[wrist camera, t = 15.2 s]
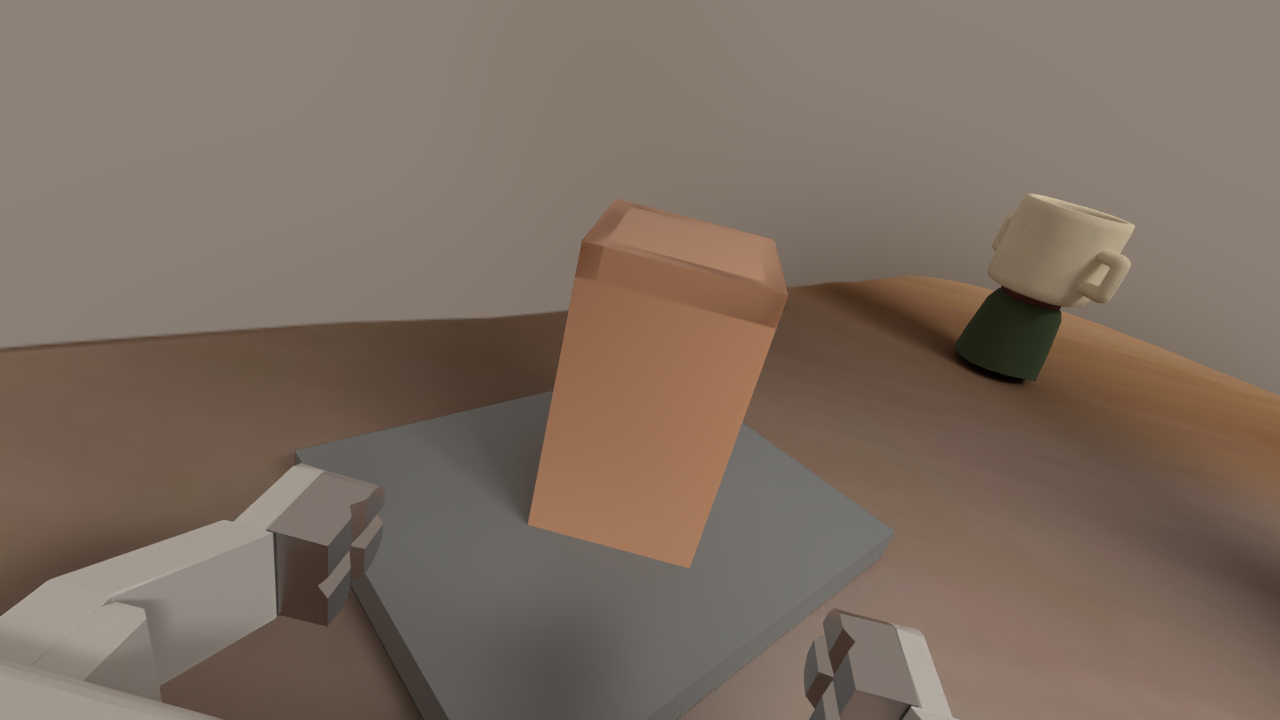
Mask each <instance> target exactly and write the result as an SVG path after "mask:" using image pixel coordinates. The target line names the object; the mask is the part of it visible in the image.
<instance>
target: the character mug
mask: <svg viewBox="0 0 1280 720" xmlns="http://www.w3.org/2000/svg"><path fill="white" fill-rule="evenodd" d="M1134 228H1135V226H1134V225H1133V224H1131V223H1129V222H1127V221H1125V220H1123V219H1120V218H1117V217H1115V216H1112V215H1109V214H1106V213H1103V212H1099V211H1096V210H1093V209H1090V208H1087V207H1083V206H1080V205H1076V204H1072V203H1068V202H1065V201H1061V200H1057V199H1054V198H1050V197H1046V196H1041V195H1036V194H1025V196H1024V198H1023V199H1022V201H1021V203H1020V205H1019V207H1018V209H1017V211H1016V212H1015V213H1010V214H1009V215H1008V216H1007V217H1006V218H1005V220H1004V222H1003V224H1002V226H1001V228H1000V230H999V231H998V234H997V236H996V237H995V240H994V242H993V245H992V248H993V249H994V250H995V251H996V252H995V254H994V256H993V258H992V260H991V262H990V264H989V268H988V275H989V276H990V277H991V278H992V279H993V280H995V281H996V282H997V283H999V284H1000V285H1002V286H1001V288H999V289H997V290H996V291H994V292H993V293H992V294H990V295H989V296H988V297H987V298H986V300H985V301H984V303H983V304H982V305H981V307H980V308H979V310H978V311H977V312H976V314H975V315H974V317H973V318H972V319H971V321H970V322H969V323H968V325H967V326H966V328H965V329H964V331H963V333H962V334H961V336H960V337H959V339H958V340H957V342H956V343H955V347H956V350H957V352H958V354H960V355H961V356H962V357H964V358H965V359H966V360H968V361H969V362H971V363H973V364H976V365H978V366H980V367H983V368H985V369H987V370H991V371H994V372H998V373H1001V376H1002V377H1003V378H1008V377H1009V376H1013V377H1017V378H1022V379H1026V380H1031V381H1036V379H1037V377H1038V374H1039V372H1040V370H1041V368H1042V366H1043V364H1044V362H1045V360H1046V358H1047V356H1048V353H1049V351H1050V348H1051V346H1052V343H1053V341H1054V338H1055V336H1056V333H1057V331H1058V328H1059V326H1060V323H1061V311H1060V310H1059V309H1060V308H1061V306H1062V307H1082V306H1083V305H1085V304H1086V303H1088V302H1089V301H1090V300H1093V301H1095V302H1097V303H1106V302H1107V301H1108V300H1109V299H1111V298H1112V297H1113V295H1114V294H1115V292H1116V290H1117V289H1118V287H1119V285H1120V284H1121V282H1122V281H1123V279H1124V277H1125V276H1126V274H1127V273H1128V271H1129V269H1130V265H1131V262H1130V260H1128V259H1127V257H1126V256H1123V255H1121V254H1120V253H1121V251H1122V249H1123V247H1124V246H1125V244H1126V242H1127V241H1128V239H1129V237H1130V236H1131V234H1132V232H1133V229H1134Z"/></svg>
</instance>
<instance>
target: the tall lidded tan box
mask: <svg viewBox="0 0 1280 720" xmlns="http://www.w3.org/2000/svg"><path fill="white" fill-rule="evenodd" d="M787 298H788V291H787V287H786V284H785V279H784V276H783V272H782V268H781V264H780V260H779V256H778V252H777V249H776V245H775V241H774V240H773V239H769V238H765V237H762V236H758V235H754V234H750V233H746V232H742V231H739V230H735V229H731V228H727V227H723V226H720V225H716V224H712V223H708V222H704V221H701V220H697V219H693V218H689V217H685V216H681V215H678V214H674V213H670V212H666V211H662V210H659V209H655V208H651V207H647V206H643V205H639V204H635V203H631V202H628V201H624V200H620V199H615V200H614V202H613V203H612V204H611V206H610V207H609V208H608V209H607V210H606V212H605V213H604V214H603V215H602V217H601V218H600V219H599V220H598V222H597V223H596V224H595V225H594V227H593V228H592V229H591V230H590V232H589V233H588V234H587V235H586V236H585V238H584V239H583V240H582V244H581V249H580V254H579V260H578V265H577V270H576V275H575V280H574V286H573V291H572V296H571V301H570V307H569V312H568V317H567V322H566V327H565V333H564V338H563V343H562V348H561V354H560V359H559V364H558V369H557V374H556V380H555V385H554V390H553V395H552V400H551V406H550V411H549V416H548V421H547V427H546V432H545V437H544V442H543V447H542V453H541V458H540V463H539V468H538V474H537V479H536V484H535V489H534V494H533V500H532V505H531V510H530V515H529V521H528V525H530V526H534V527H537V528H541V529H545V530H549V531H552V532H556V533H560V534H564V535H567V536H571V537H575V538H578V539H582V540H586V541H590V542H593V543H597V544H601V545H604V546H608V547H612V548H616V549H619V550H623V551H627V552H630V553H634V554H638V555H642V556H645V557H649V558H653V559H656V560H660V561H664V562H668V563H671V564H675V565H679V566H682V567H686V568H690V566H691V563H692V560H693V557H694V555H695V552H696V549H697V546H698V544H699V541H700V538H701V535H702V533H703V530H704V527H705V524H706V522H707V519H708V516H709V513H710V511H711V508H712V505H713V502H714V499H715V497H716V494H717V491H718V488H719V486H720V483H721V480H722V477H723V475H724V472H725V469H726V466H727V464H728V461H729V458H730V455H731V453H732V450H733V447H734V444H735V441H736V439H737V436H738V433H739V430H740V428H741V425H742V422H743V419H744V417H745V414H746V411H747V408H748V406H749V403H750V400H751V397H752V395H753V392H754V389H755V386H756V384H757V381H758V378H759V375H760V372H761V370H762V367H763V364H764V361H765V359H766V356H767V353H768V350H769V348H770V345H771V342H772V339H773V337H774V334H775V331H776V328H777V326H778V323H779V320H780V317H781V315H782V312H783V309H784V306H785V303H786V301H787Z"/></svg>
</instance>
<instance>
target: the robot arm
mask: <svg viewBox="0 0 1280 720" xmlns="http://www.w3.org/2000/svg"><path fill="white" fill-rule="evenodd" d="M384 504H385V489H383V488H382V487H381V486H378V485H375V484H372V483H368V482H365V481H362V480H358V479H355V478H351V477H348V476H345V475H341V474H338V473H335V472H331V471H325V470H322V469H319V468H315V467H312V466H309V465H306V464H302V463H301V464H298V465H295V466H293V467H291V468H290V469H289V470H288V471H287V472H286V473H285V474H284V475H283V476H281V477H280V478H279V479H278V480H277V481H276V482H275V483H274V484H273V485H272V486H271V487H270V488H269V489H267V490H266V491H265V492H264V493H263V494H262V495H261V496H260V497H259V498H258V499H257V500H256V501H254V502H253V503H252V504H251V505H250V506H249V507H248V508H247V509H246V510H245V511H244V512H243V513H242V514H240V515H239V516H238V517H237V518H236V519H235V520H234V521H233V522H231V521H227V520H222V521H219V522H216V523H213V524H210V525H207V526H204V527H201V528H198V529H195V530H192V531H190V532H187V533H184V534H181V535H178V536H175V537H172V538H169V539H166V540H163V541H160V542H158V543H155V544H152V545H149V546H146V547H143V548H140V549H137V550H134V551H131V552H128V553H125V554H123V555H120V556H117V557H114V558H111V559H108V560H105V561H102V562H99V563H96V564H93V565H90V566H88V567H85V568H82V569H79V570H76V571H73V572H70V573H67V574H64V575H61V576H58V577H55V578H53V579H50V580H48V581H46V582H45V583H44V584H42V585H41V586H40V587H39V588H37V589H36V590H35V591H33V592H32V593H31V594H29V595H28V596H27V597H25V598H24V599H23V600H21V601H20V602H19V603H18V604H16V605H15V606H14V607H12V608H11V609H10V610H8V611H7V612H6V613H4V614H3V615H2V616H0V720H224V719H221V718H217V717H213V716H210V715H206V714H203V713H199V712H195V711H192V710H188V709H184V708H181V707H177V706H173V705H170V704H166V703H162V698H161V693H160V688H159V686H161V685H163V684H164V683H166V682H168V681H169V680H171V679H173V678H175V677H176V676H178V675H180V674H181V673H183V672H185V671H187V670H188V669H190V668H192V667H193V666H195V665H197V664H198V663H200V662H202V661H204V660H205V659H207V658H209V657H210V656H212V655H214V654H216V653H217V652H219V651H221V650H222V649H224V648H226V647H227V646H229V645H231V644H233V643H234V642H236V641H238V640H239V639H241V638H243V637H245V636H246V635H248V634H250V633H251V632H253V631H255V630H257V629H258V628H260V627H262V626H263V625H265V624H267V623H268V622H270V621H272V620H274V619H275V618H277V615H281V616H285V617H290V618H294V619H298V620H302V621H306V622H310V623H314V624H319V625H323V626H327V627H328V625H329V624H330V622H331V621H332V620H333V618H334V617H335V615H336V614H337V613H338V611H339V610H340V608H341V607H342V606H343V604H344V603H345V601H346V600H347V599H348V597H349V596H350V582H352V581H354V580H356V579H358V578H360V577H362V576H364V574H365V573H366V572H367V570H368V569H369V567H370V566H371V564H372V563H373V560H374V558H375V556H376V554H377V551H378V549H379V547H380V543H381V539H382V535H383V522H382V521H381V519H380V517H379V516H378V512H379V511H380V510H381V508H382V507H383V506H384ZM823 625H824V632H825V635H823V636H821V637H819V638H817V639H815V640H814V641H813V643H812V645H811V647H810V650H809V652H808V654H807V659H806V664H805V669H804V686H805V695H806V697H807V698H808V700H809V701H810V703H811V704H812V706H813V707H814V708H815V710H814V712H813V714H812V716H811V717H810V719H809V720H960V719H957V718H954V717H952V714H951V711H950V709H949V706H948V703H947V700H946V697H945V694H944V692H943V689H942V686H941V683H940V680H939V677H938V675H937V672H936V669H935V666H934V663H933V661H932V658H931V655H930V652H929V649H928V646H927V644H926V641H925V638H924V636H923V634H922V633H921V632H920V631H919V630H916V629H913V628H909V627H905V626H901V625H897V624H893V623H887V622H884V621H880V620H877V619H873V618H869V617H865V616H861V615H857V614H854V613H850V612H846V611H842V610H838V609H833V610H832V611H830V612H829V613H828V615H827V617H826V618H825V620H824V622H823Z"/></svg>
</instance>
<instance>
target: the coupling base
mask: <svg viewBox="0 0 1280 720" xmlns="http://www.w3.org/2000/svg"><path fill="white" fill-rule="evenodd" d="M552 395H553V391H549V392H544V393H540V394H536V395H531V396H527V397H523V398H518V399H514V400H510V401H506V402H501V403H497V404H493V405H488V406H484V407H480V408H475V409H471V410H467V411H463V412H458V413H454V414H450V415H445V416H441V417H437V418H432V419H428V420H424V421H420V422H415V423H411V424H407V425H402V426H398V427H394V428H389V429H385V430H381V431H377V432H372V433H368V434H364V435H359V436H355V437H351V438H346V439H342V440H338V441H334V442H329V443H325V444H321V445H316V446H312V447H308V448H304V449H299V450H295V465H298V464H301V463H302V464H306V465H309V466H312V467H315V468H319V469H322V470H325V471H331V472H335V473H338V474H341V475H345V476H348V477H351V478H355V479H358V480H362V481H365V482H368V483H372V484H375V485H378V486H381V487H382V488H383V489H385V504H384V506H383V507H382V508H381V510H380V511H379V512H378V516H379V517H380V519H381V521H382V522H383V535H382V539H381V543H380V547H379V549H378V551H377V554H376V556H375V558H374V560H373V563H372V564H371V566H370V567H369V569H368V570H367V572H366V573H365V574H364V576H362V577H360V578H358V579H356V580H354V581H352V582H350V585H351V586H352V588H353V590H354V592H355V594H356V596H357V598H358V599H359V601H360V603H361V605H362V607H363V609H364V610H365V612H366V614H367V616H368V618H369V620H370V621H371V623H372V625H373V627H374V629H375V631H376V633H377V634H378V636H379V638H380V640H381V642H382V644H383V645H384V647H385V649H386V651H387V653H388V655H389V656H390V658H391V660H392V662H393V664H394V666H395V667H396V669H397V671H398V673H399V675H400V677H401V679H402V680H403V682H404V684H405V686H406V688H407V690H408V691H409V693H410V695H411V697H412V699H413V701H414V702H415V704H416V706H417V708H418V710H419V712H420V714H421V715H422V717H423V719H424V720H676V719H677V718H678V717H680V716H681V715H682V714H684V713H685V712H686V711H687V710H689V709H690V708H691V707H692V706H694V705H695V704H696V703H697V702H699V701H700V700H701V699H703V698H704V697H705V696H706V695H708V694H709V693H710V692H711V691H713V690H714V689H715V688H716V687H718V686H719V685H720V684H722V683H723V682H724V681H725V680H727V679H728V678H729V677H730V676H732V675H733V674H734V673H735V672H737V671H738V670H739V669H741V668H742V667H743V666H744V665H746V664H747V663H748V662H749V661H751V660H752V659H753V658H754V657H756V656H757V655H758V654H760V653H761V652H762V651H763V650H765V649H766V648H767V647H768V646H770V645H771V644H772V643H773V642H775V641H776V640H777V639H779V638H780V637H781V636H782V635H784V634H785V633H786V632H787V631H789V630H790V629H791V628H792V627H794V626H795V625H796V624H798V623H799V622H800V621H801V620H803V619H804V618H805V617H806V616H808V615H809V614H810V613H811V612H813V611H814V610H815V609H817V608H818V607H819V606H820V605H822V604H823V603H824V602H825V601H827V600H828V599H829V598H830V597H832V596H833V595H834V594H836V593H837V592H838V591H839V590H841V589H842V588H843V587H844V586H846V585H847V584H848V583H849V582H851V581H852V580H853V579H855V578H856V577H857V576H858V575H860V574H861V573H862V572H863V571H865V570H866V569H867V568H868V567H870V566H871V565H872V564H874V563H875V562H876V561H877V560H879V559H880V558H881V556H882V554H883V552H884V550H885V549H886V547H887V545H888V543H889V541H890V539H891V538H892V536H893V534H894V532H895V531H894V530H892V529H891V528H890V527H888V526H887V525H885V524H884V523H883V522H881V521H880V520H878V519H877V518H876V517H874V516H873V515H871V514H870V513H869V512H867V511H866V510H864V509H863V508H862V507H860V506H859V505H857V504H856V503H855V502H853V501H852V500H850V499H849V498H848V497H846V496H845V495H843V494H842V493H841V492H839V491H838V490H836V489H835V488H834V487H832V486H831V485H829V484H828V483H827V482H825V481H824V480H822V479H821V478H820V477H818V476H817V475H815V474H814V473H813V472H811V471H810V470H809V469H807V468H806V467H804V466H803V465H802V464H800V463H799V462H797V461H796V460H795V459H793V458H792V457H790V456H789V455H788V454H786V453H785V452H783V451H782V450H781V449H779V448H778V447H776V446H775V445H774V444H772V443H771V442H769V441H768V440H767V439H765V438H764V437H762V436H761V435H760V434H758V433H757V432H755V431H754V430H753V429H751V428H750V427H748V426H747V425H746V424H744V423H743V422H742V425H741V428H740V430H739V433H738V436H737V439H736V441H735V444H734V447H733V450H732V453H731V455H730V458H729V461H728V464H727V466H726V469H725V472H724V475H723V477H722V480H721V483H720V486H719V488H718V491H717V494H716V497H715V499H714V502H713V505H712V508H711V511H710V513H709V516H708V519H707V522H706V524H705V527H704V530H703V533H702V535H701V538H700V541H699V544H698V546H697V549H696V552H695V555H694V557H693V560H692V563H691V566H690V568H686V567H682V566H679V565H675V564H671V563H668V562H664V561H660V560H656V559H653V558H649V557H645V556H642V555H638V554H634V553H630V552H627V551H623V550H619V549H616V548H612V547H608V546H604V545H601V544H597V543H593V542H590V541H586V540H582V539H578V538H575V537H571V536H567V535H564V534H560V533H556V532H552V531H549V530H545V529H541V528H537V527H534V526H530V525H528V521H529V515H530V510H531V505H532V500H533V494H534V489H535V484H536V479H537V474H538V468H539V463H540V458H541V453H542V447H543V442H544V437H545V432H546V427H547V421H548V416H549V411H550V406H551V400H552Z"/></svg>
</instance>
